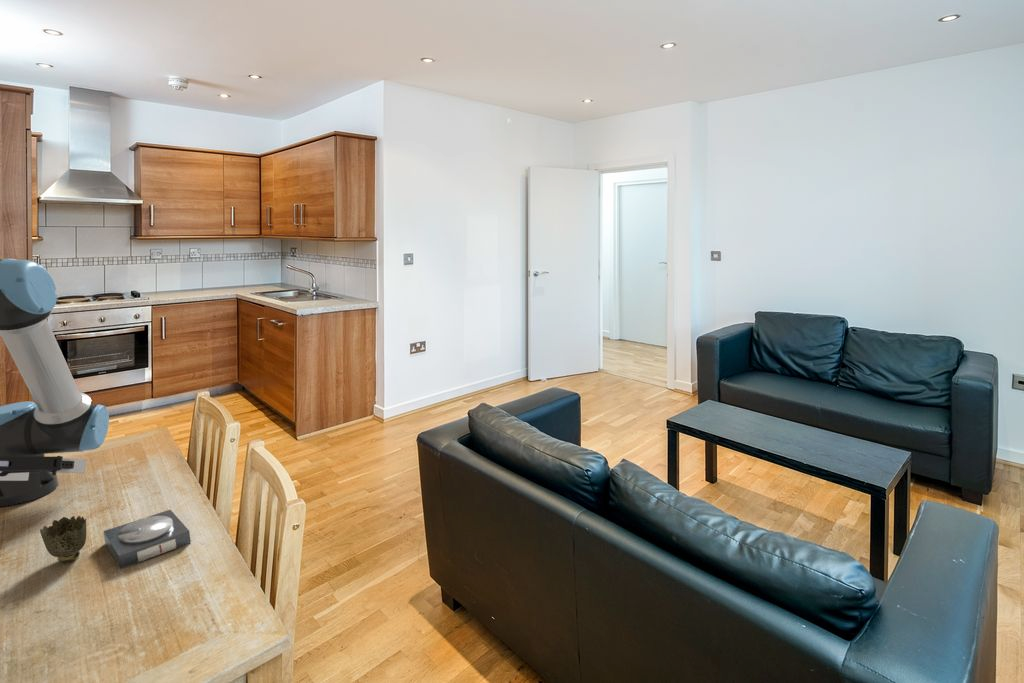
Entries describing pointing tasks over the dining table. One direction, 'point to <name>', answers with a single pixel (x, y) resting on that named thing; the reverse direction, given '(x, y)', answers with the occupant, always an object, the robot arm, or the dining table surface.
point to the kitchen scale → (146, 538)
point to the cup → (65, 538)
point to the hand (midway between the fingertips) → (55, 470)
